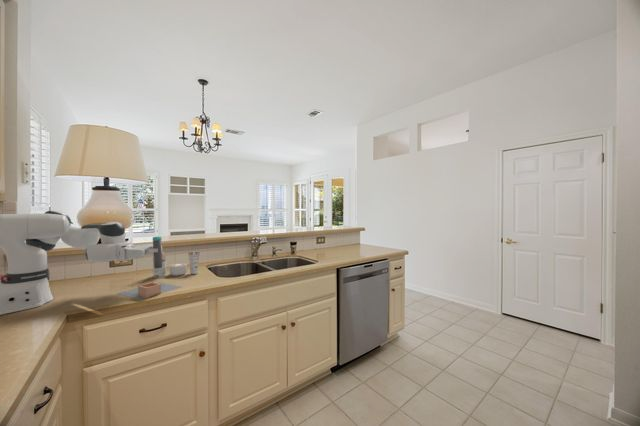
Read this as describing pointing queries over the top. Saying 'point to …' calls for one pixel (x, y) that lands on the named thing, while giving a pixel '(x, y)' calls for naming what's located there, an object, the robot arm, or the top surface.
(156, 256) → the marker
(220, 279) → the top surface
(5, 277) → the robot arm
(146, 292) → the pink open box
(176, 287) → the board
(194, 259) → the cosmetic set
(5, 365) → the top surface
